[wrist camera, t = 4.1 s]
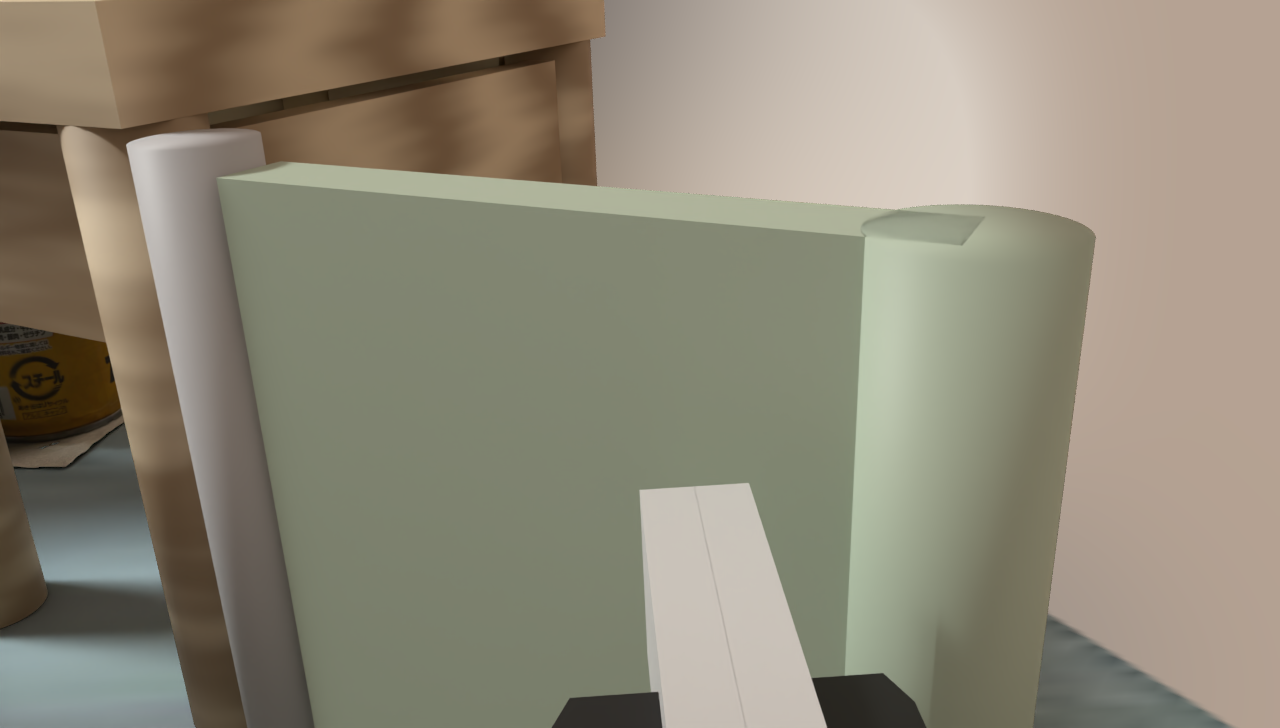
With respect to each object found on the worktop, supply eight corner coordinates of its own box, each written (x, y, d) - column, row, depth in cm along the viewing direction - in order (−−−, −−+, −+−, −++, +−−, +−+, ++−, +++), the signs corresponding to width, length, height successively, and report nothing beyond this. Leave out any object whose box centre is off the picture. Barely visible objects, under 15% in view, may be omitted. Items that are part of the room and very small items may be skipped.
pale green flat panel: (226, 788, 25) (83, 149, 20) (315, 711, 28) (211, 123, 22) (977, 1111, 18) (1086, 231, 12) (1007, 965, 20) (1111, 178, 15)
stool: (251, 755, 27) (94, 0, 20) (-84, 620, 33) (-290, 4, 26) (622, 437, 43) (602, -37, 37) (353, 386, 49) (294, -30, 43)
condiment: (171, 387, 50) (117, 128, 46) (66, 471, 42) (-12, 168, 38) (24, 386, 51) (-43, 131, 47) (-106, 468, 43) (-202, 171, 39)
